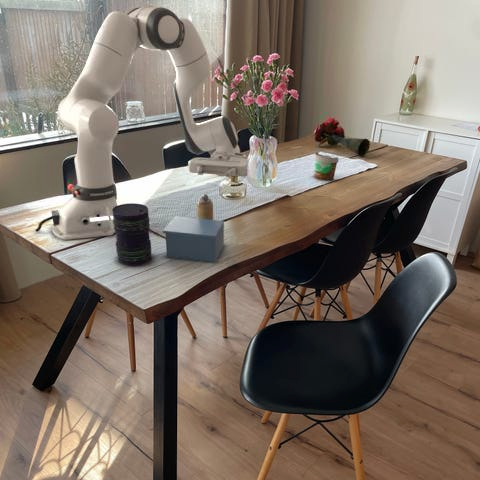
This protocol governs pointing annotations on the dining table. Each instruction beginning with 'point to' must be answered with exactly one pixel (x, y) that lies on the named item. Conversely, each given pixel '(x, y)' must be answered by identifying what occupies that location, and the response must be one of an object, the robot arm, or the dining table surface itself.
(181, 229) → the box lid
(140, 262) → the black cylinder
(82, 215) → the robot arm
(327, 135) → the red rose bouquet
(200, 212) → the pepper mill
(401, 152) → the dining table surface
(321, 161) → the food container
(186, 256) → the storage box
